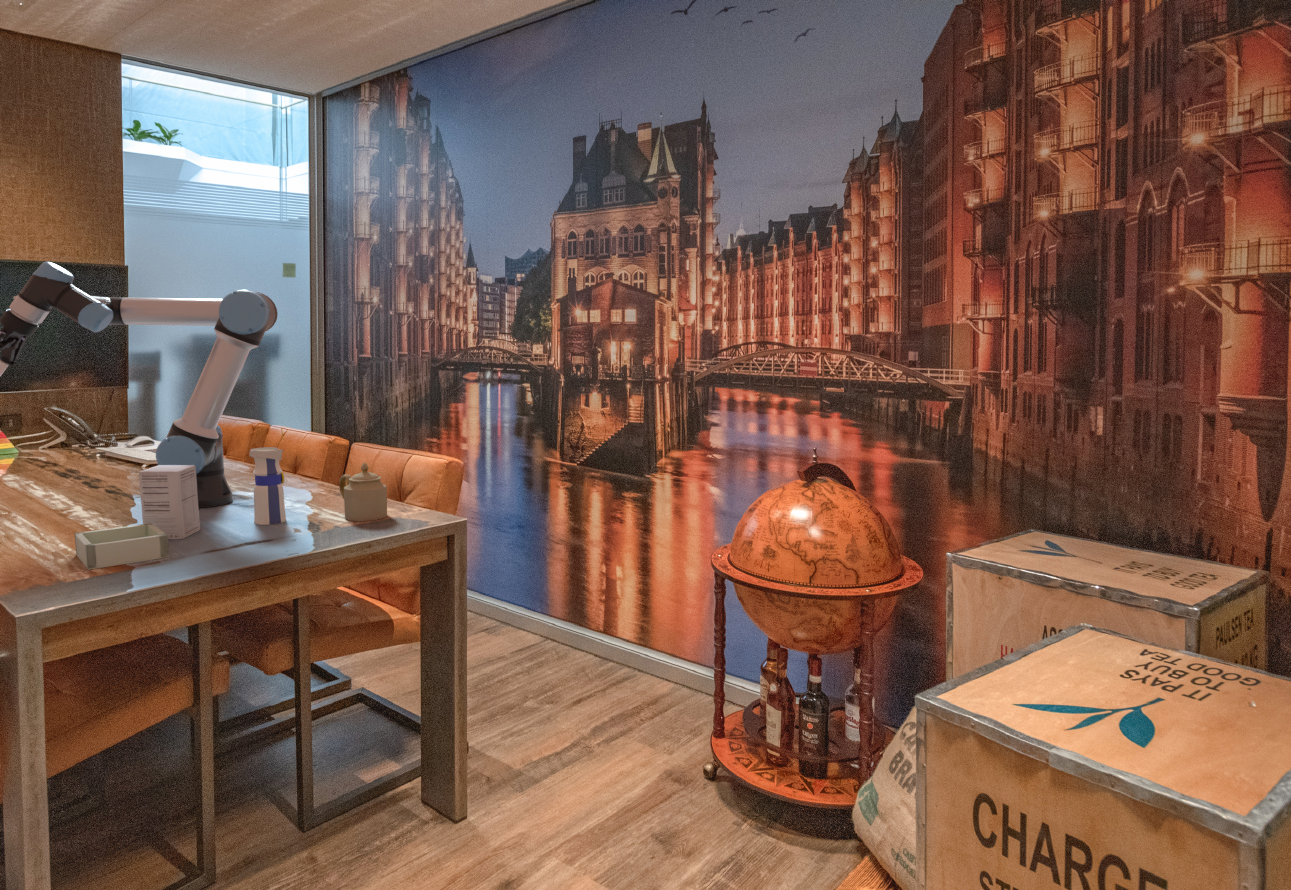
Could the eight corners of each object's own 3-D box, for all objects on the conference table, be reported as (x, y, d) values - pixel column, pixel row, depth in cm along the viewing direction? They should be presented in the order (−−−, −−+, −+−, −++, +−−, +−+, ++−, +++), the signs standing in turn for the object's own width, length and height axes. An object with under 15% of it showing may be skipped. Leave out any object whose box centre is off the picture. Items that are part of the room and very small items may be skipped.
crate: (153, 543, 190) (151, 523, 189) (169, 556, 179) (167, 535, 178) (76, 555, 180) (74, 533, 179) (88, 569, 169) (86, 546, 168)
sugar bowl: (323, 520, 215) (321, 465, 213) (343, 511, 226) (341, 458, 224) (376, 522, 214) (374, 466, 212) (394, 513, 225) (392, 460, 223)
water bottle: (280, 516, 220) (275, 425, 216) (292, 521, 214) (287, 427, 210) (248, 520, 214) (243, 427, 211) (260, 526, 208) (254, 430, 204)
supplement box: (163, 530, 203) (158, 464, 200) (201, 530, 203) (196, 464, 201) (142, 540, 193) (137, 471, 191) (182, 539, 194) (178, 470, 192)
